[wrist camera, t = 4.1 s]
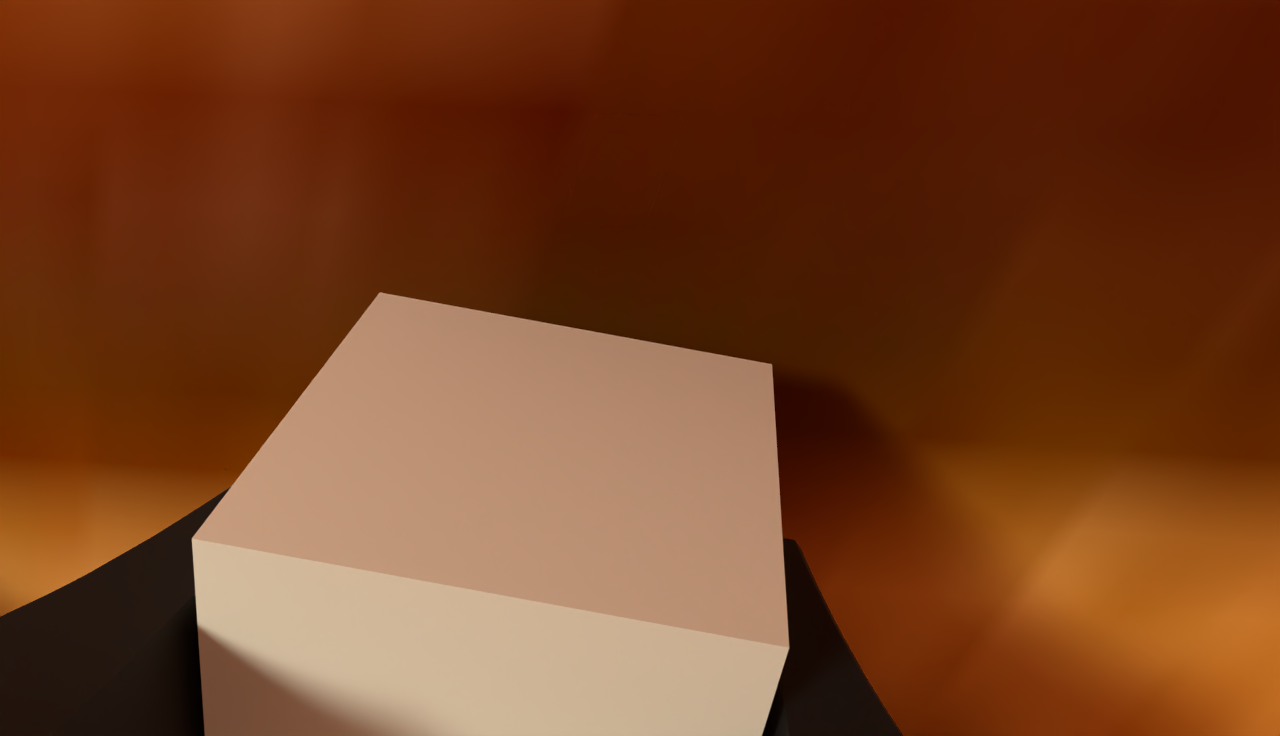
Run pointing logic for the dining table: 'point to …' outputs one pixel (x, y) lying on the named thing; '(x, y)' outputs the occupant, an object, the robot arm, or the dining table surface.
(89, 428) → the dining table surface
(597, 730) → the cube
